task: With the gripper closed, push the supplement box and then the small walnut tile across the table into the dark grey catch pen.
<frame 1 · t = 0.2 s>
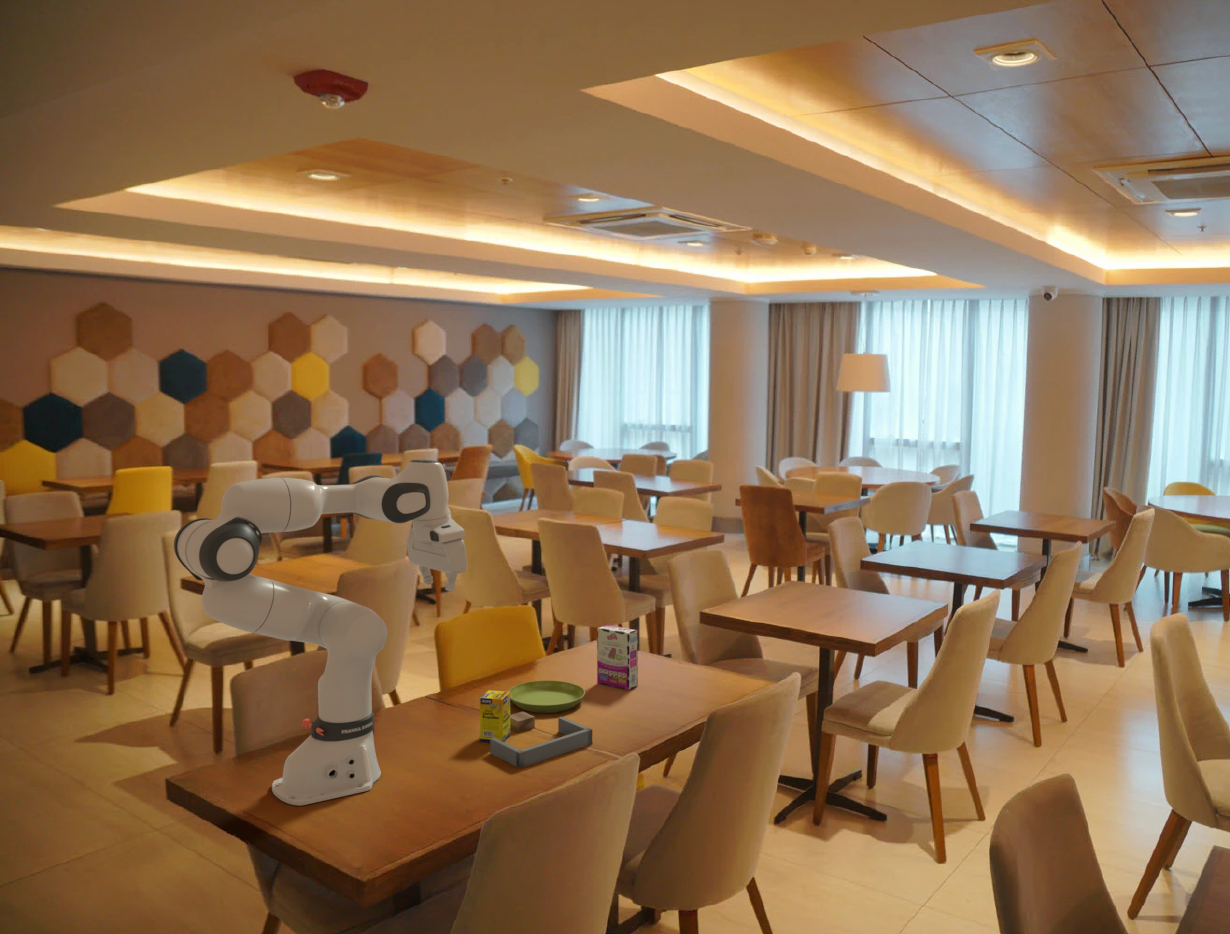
hand: (439, 586, 216), 39 cm above the table, tool pointing down, fingers open, 8 cm apart
candy bar box: (617, 685, 266), on the table
saucer: (546, 704, 252), on the table
supplement box: (495, 739, 226), on the table
catch pen: (542, 748, 220), on the table
walnut tile: (520, 728, 234), on the table
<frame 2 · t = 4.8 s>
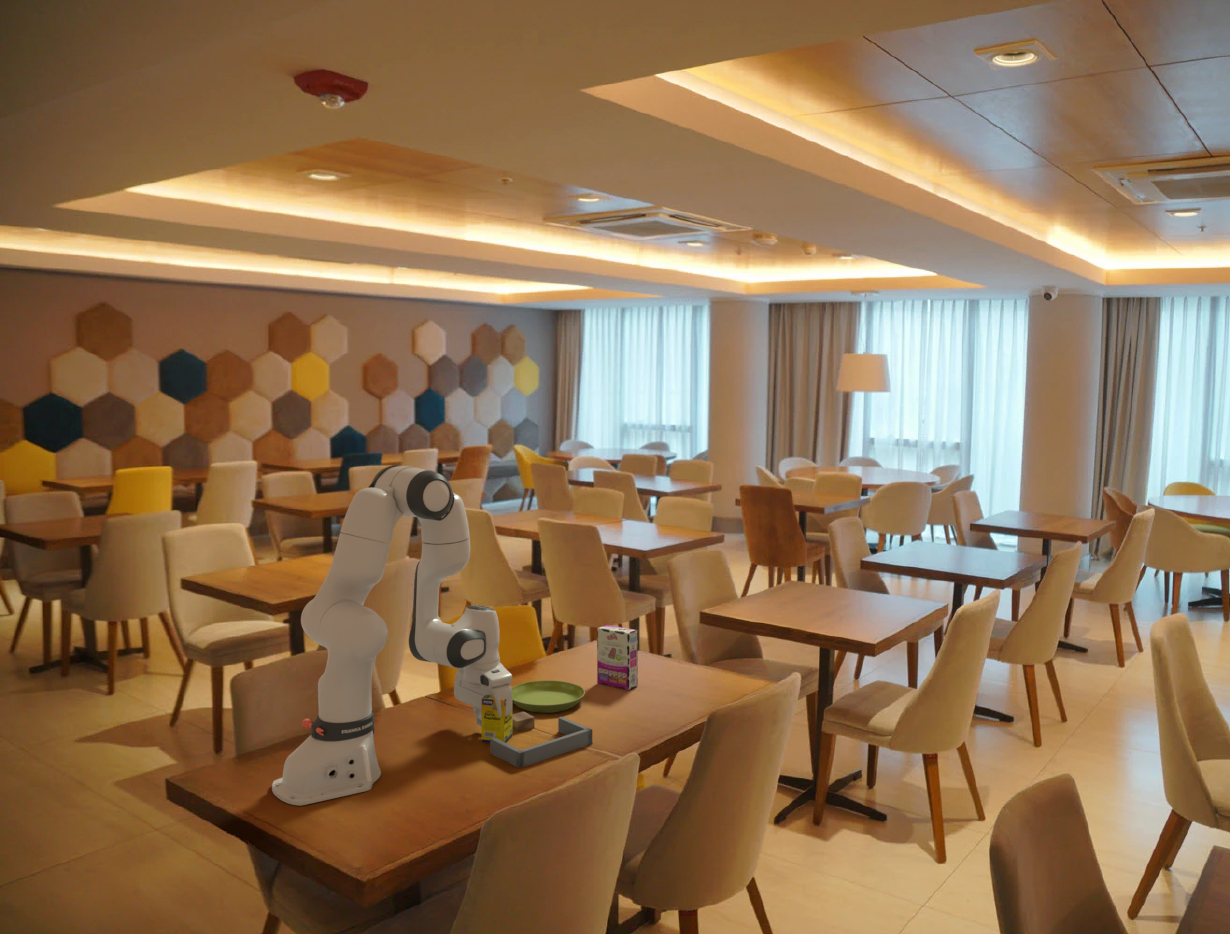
hand: (482, 725, 230), 2 cm above the table, tool pointing down, fingers closed
supplement box: (497, 740, 225), on the table, touching gripper
everything else where it was.
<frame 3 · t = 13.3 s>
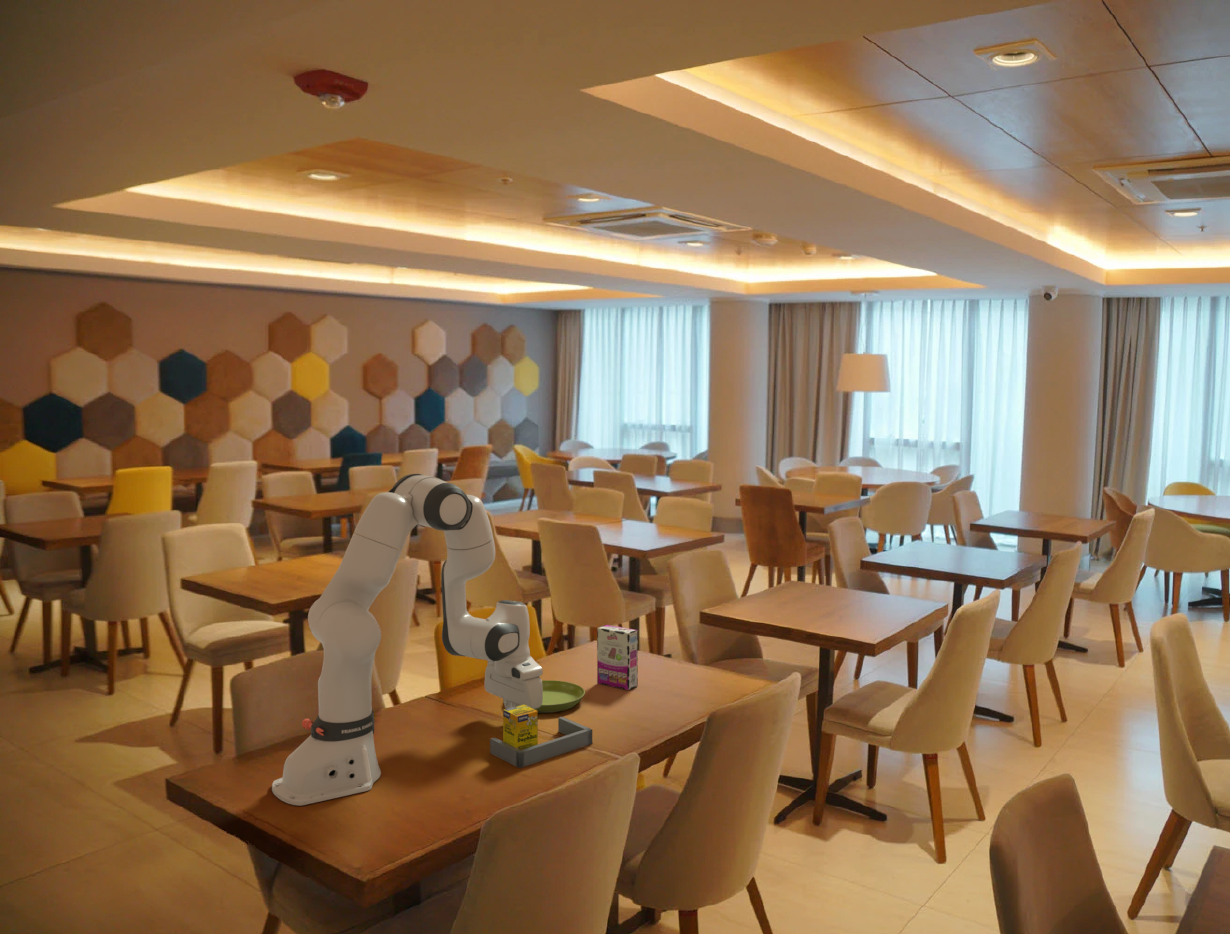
hand: (512, 717, 236), 2 cm above the table, tool pointing down, fingers closed
supplement box: (520, 756, 215), on the table
walnut tile: (523, 728, 233), on the table, touching gripper
everything else where it was.
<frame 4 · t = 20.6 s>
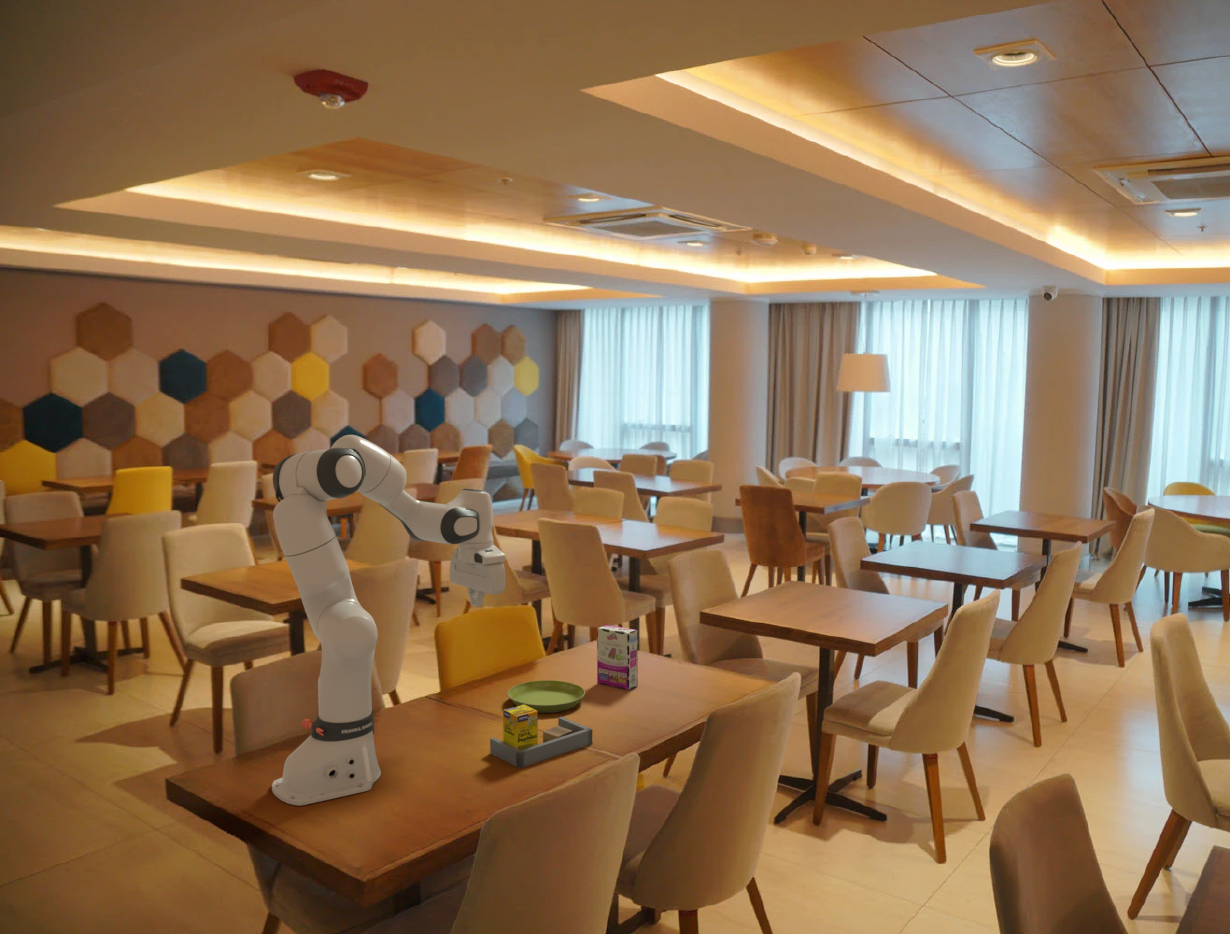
hand: (476, 605, 238), 29 cm above the table, tool pointing down, fingers closed
walnut tile: (557, 743, 224), on the table
everything else where it was.
at the end: supplement box inside the target area (1.9 cm from its centre), on the table; walnut tile inside the target area (1.2 cm from its centre), on the table; supplement box touching table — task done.
